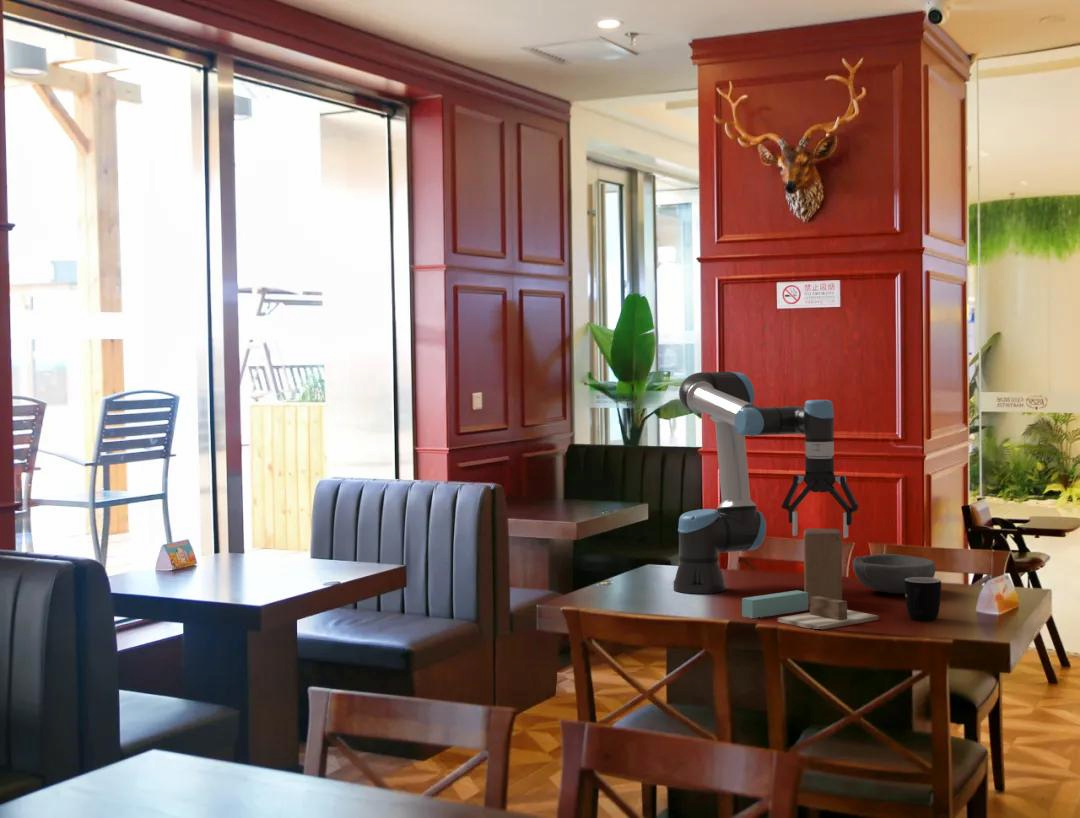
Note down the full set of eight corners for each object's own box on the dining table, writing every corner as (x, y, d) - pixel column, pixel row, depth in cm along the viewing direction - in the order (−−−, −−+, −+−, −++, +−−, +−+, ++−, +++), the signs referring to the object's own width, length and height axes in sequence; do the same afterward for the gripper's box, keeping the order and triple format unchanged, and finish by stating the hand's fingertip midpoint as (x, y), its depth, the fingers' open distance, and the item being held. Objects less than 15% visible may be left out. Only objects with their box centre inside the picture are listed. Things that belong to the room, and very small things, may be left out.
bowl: (906, 603, 345) (906, 566, 345) (838, 593, 362) (837, 558, 362) (951, 592, 361) (951, 557, 360) (883, 583, 378) (883, 550, 377)
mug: (909, 614, 329) (909, 576, 328) (945, 617, 324) (944, 578, 324) (897, 622, 318) (897, 582, 318) (933, 625, 314) (933, 585, 314)
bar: (742, 617, 330) (741, 598, 330) (797, 608, 341) (797, 590, 341) (752, 619, 327) (752, 600, 327) (808, 610, 338) (808, 592, 338)
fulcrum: (777, 621, 322) (777, 600, 322) (837, 611, 334) (837, 591, 334) (818, 630, 311) (817, 608, 310) (878, 619, 323) (878, 598, 323)
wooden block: (842, 606, 342) (841, 532, 342) (804, 605, 344) (804, 532, 344) (841, 599, 352) (840, 528, 352) (804, 599, 354) (803, 528, 354)
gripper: (770, 457, 339) (770, 536, 339) (864, 458, 328) (865, 539, 329) (776, 455, 346) (777, 532, 346) (869, 457, 335) (870, 536, 336)
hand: (820, 536), depth 337 cm, fingers open, 13 cm apart
